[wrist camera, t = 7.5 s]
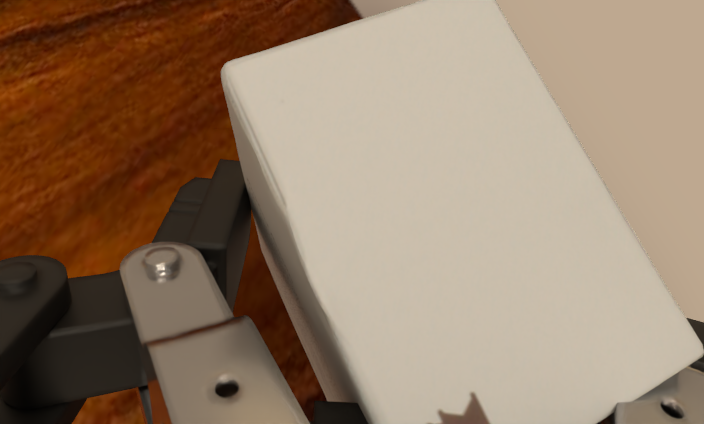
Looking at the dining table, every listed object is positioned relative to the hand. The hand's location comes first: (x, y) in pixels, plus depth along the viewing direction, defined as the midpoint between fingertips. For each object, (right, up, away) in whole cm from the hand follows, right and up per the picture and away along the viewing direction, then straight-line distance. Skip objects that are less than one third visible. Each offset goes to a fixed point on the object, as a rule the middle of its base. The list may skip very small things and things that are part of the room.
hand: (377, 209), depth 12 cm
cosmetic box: (-1, -3, +5) cm, 6 cm away
